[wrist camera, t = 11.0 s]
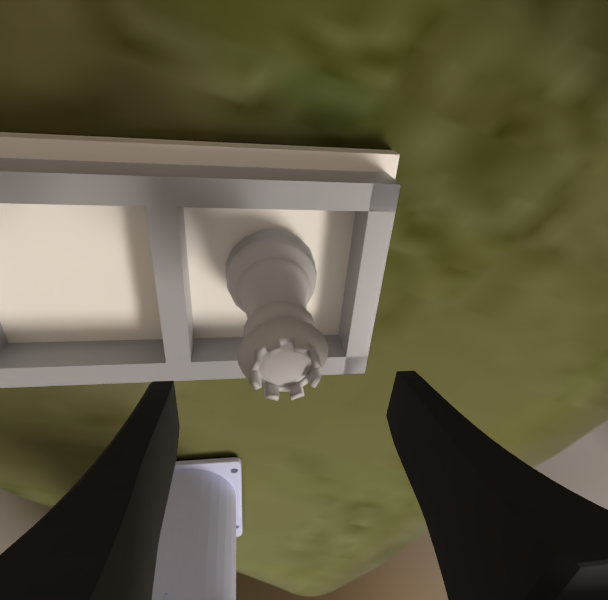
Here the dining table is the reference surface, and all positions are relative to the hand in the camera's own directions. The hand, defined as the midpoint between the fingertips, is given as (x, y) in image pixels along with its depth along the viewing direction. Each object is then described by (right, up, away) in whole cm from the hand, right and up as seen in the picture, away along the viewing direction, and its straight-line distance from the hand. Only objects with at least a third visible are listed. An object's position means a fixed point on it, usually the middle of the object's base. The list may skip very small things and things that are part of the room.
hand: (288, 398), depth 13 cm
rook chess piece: (-1, +5, +7) cm, 9 cm away
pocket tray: (-6, +5, +8) cm, 11 cm away
